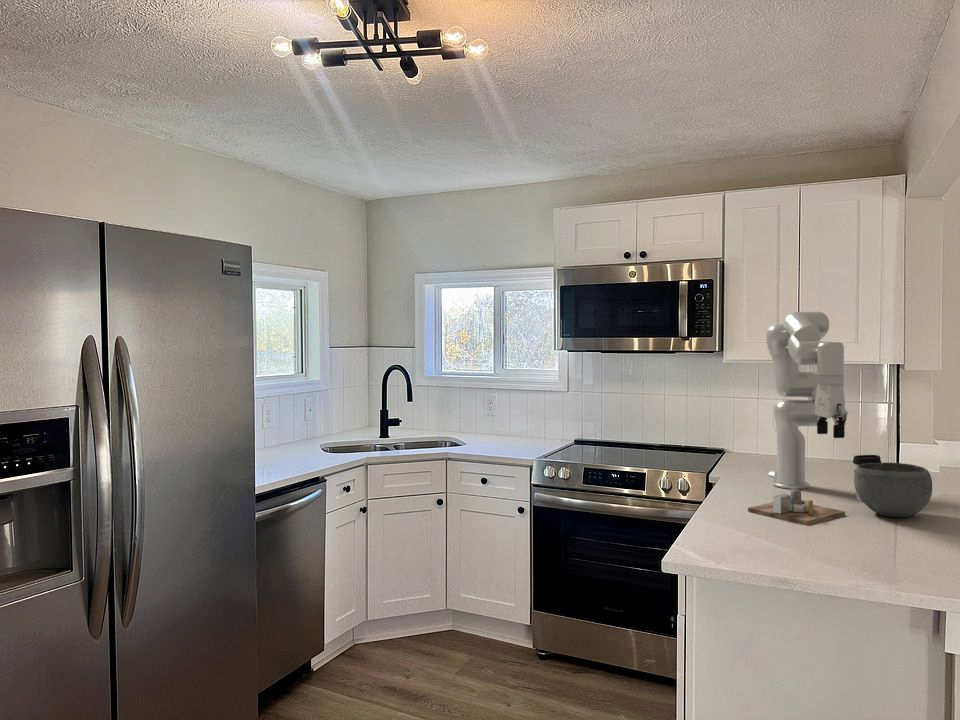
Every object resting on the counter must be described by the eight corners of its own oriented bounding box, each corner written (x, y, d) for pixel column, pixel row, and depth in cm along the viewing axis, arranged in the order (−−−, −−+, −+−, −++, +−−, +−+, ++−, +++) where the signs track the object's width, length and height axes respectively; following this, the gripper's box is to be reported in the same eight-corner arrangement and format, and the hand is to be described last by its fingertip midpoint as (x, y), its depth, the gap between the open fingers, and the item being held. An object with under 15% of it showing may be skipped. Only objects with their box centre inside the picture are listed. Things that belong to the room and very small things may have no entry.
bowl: (922, 509, 224) (922, 462, 223) (941, 526, 204) (942, 474, 204) (848, 504, 231) (849, 459, 230) (860, 521, 211) (860, 471, 210)
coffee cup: (885, 503, 232) (885, 458, 232) (857, 502, 234) (857, 457, 233) (876, 497, 240) (876, 453, 240) (849, 496, 242) (849, 453, 242)
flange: (763, 509, 219) (763, 493, 219) (791, 503, 227) (791, 488, 227) (790, 516, 212) (790, 499, 211) (818, 509, 219) (818, 493, 219)
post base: (747, 511, 224) (747, 488, 223) (786, 502, 234) (786, 481, 234) (806, 525, 207) (806, 500, 207) (845, 515, 218) (845, 492, 217)
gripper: (805, 380, 230) (805, 432, 230) (833, 383, 213) (833, 439, 213) (827, 379, 230) (827, 432, 231) (857, 382, 213) (857, 439, 213)
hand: (830, 435), depth 222 cm, fingers open, 9 cm apart
